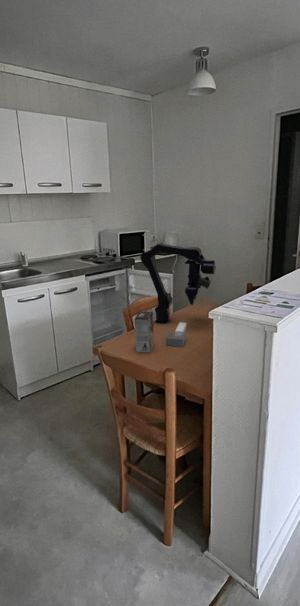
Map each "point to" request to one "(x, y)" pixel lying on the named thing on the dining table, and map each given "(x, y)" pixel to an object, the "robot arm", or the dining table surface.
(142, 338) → the coffee box
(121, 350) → the dining table surface
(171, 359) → the dining table surface
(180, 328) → the slat
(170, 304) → the robot arm
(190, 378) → the dining table surface
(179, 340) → the end cap
